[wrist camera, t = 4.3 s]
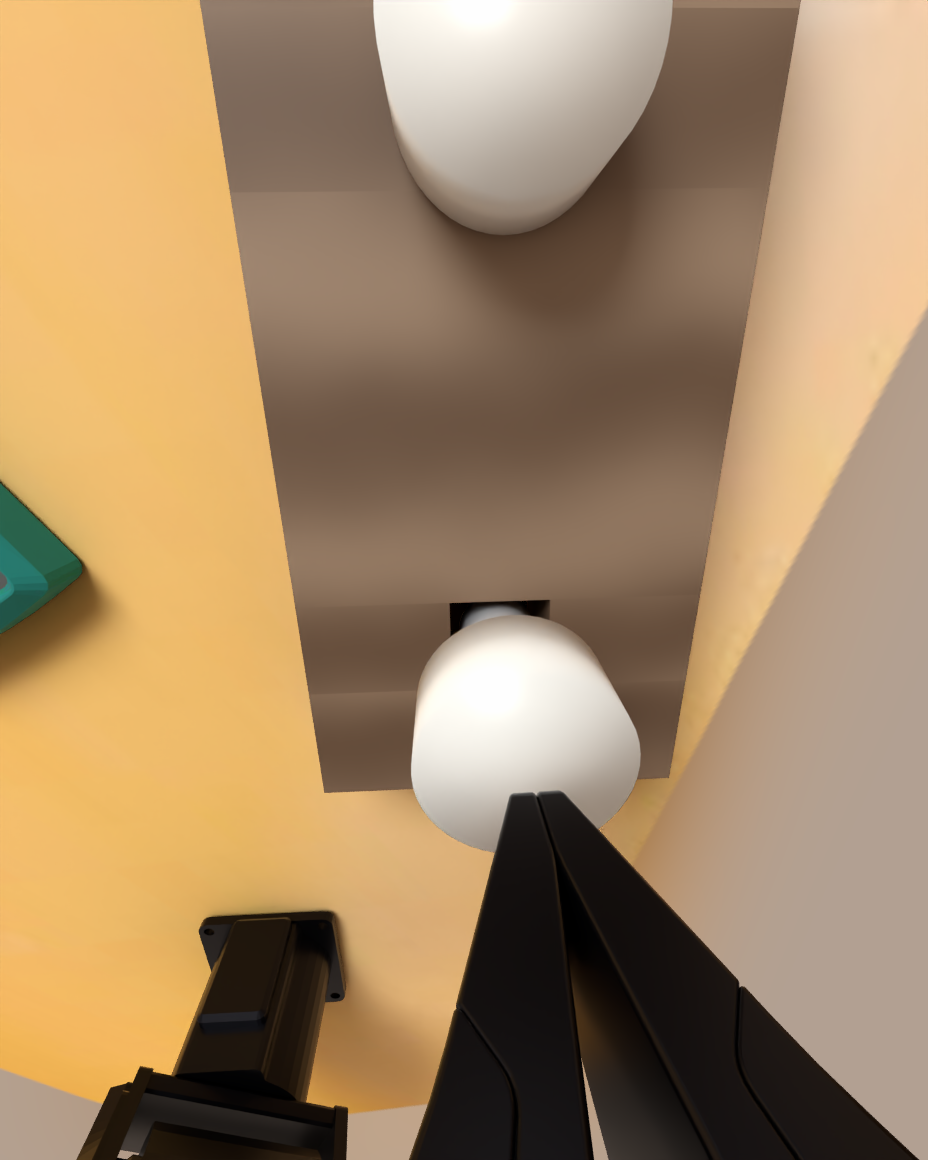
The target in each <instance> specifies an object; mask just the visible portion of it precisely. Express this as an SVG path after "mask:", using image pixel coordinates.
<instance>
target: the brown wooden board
mask: <svg viewBox="0 0 928 1160" xmlns="http://www.w3.org/2000/svg"><path fill="white" fill-rule="evenodd" d="M800 2H801V0H673V4H672V19H671V25H670V32H669V39H668V44H667V48H666V52H665V56H664V60H663V64H662V68H661V71H660V74H659V76H658V79H657V82H656V85H655V88H654V90H653V92H652V95H651V97H650V99H649V101H648V103H647V105H646V107H645V109H644V111H643V113H642V115H641V116H640V118H639V120H638V121H637V123H636V125H635V126H634V128H633V130H632V131H631V132H630V134H629V135H628V136H627V138H626V139H625V140H624V142H623V143H622V144H621V146H620V147H619V148H618V150H617V151H616V152H615V154H614V155H613V156H612V157H611V159H610V160H609V161H608V163H607V164H606V165H605V167H604V168H603V169H602V171H601V172H600V173H599V175H598V176H597V177H596V179H595V180H594V181H593V183H592V184H591V185H590V186H589V188H588V189H587V190H586V192H585V193H584V194H583V196H582V197H581V198H580V199H579V200H578V201H577V202H576V203H575V204H574V205H573V206H572V207H571V208H570V209H569V210H567V211H566V212H565V213H563V214H562V215H561V216H560V217H558V218H557V219H555V220H553V221H552V222H550V223H548V224H546V225H544V226H542V227H540V228H537V229H535V230H532V231H528V232H524V233H520V234H512V235H495V234H488V233H483V232H479V231H475V230H473V229H470V228H468V227H465V226H463V225H461V224H459V223H458V222H456V221H454V220H452V219H451V218H449V217H448V216H447V215H445V214H444V213H443V212H442V211H440V210H439V209H438V208H437V207H436V206H435V205H434V204H433V203H432V202H431V201H430V200H429V199H428V198H427V197H426V195H425V194H424V193H423V192H422V190H421V189H420V188H419V186H418V185H417V183H416V182H415V180H414V178H413V177H412V175H411V173H410V172H409V170H408V168H407V166H406V163H405V161H404V159H403V157H402V154H401V152H400V149H399V146H398V143H397V140H396V136H395V132H394V127H393V123H392V118H391V113H390V108H389V103H388V98H387V93H386V87H385V82H384V77H383V72H382V67H381V62H380V57H379V52H378V47H377V41H376V32H375V24H374V5H373V0H200V4H201V11H202V17H203V24H204V30H205V36H206V43H207V49H208V55H209V62H210V68H211V74H212V81H213V87H214V93H215V100H216V106H217V113H218V119H219V125H220V132H221V138H222V144H223V151H224V157H225V163H226V170H227V176H228V182H229V189H230V195H231V202H232V208H233V214H234V221H235V227H236V233H237V240H238V246H239V252H240V259H241V265H242V271H243V278H244V284H245V291H246V297H247V303H248V310H249V316H250V322H251V329H252V335H253V341H254V348H255V354H256V360H257V367H258V373H259V380H260V386H261V392H262V399H263V405H264V411H265V418H266V424H267V430H268V437H269V443H270V449H271V456H272V462H273V469H274V475H275V481H276V488H277V494H278V500H279V507H280V513H281V519H282V526H283V532H284V538H285V545H286V551H287V557H288V564H289V570H290V577H291V583H292V589H293V596H294V602H295V608H296V615H297V621H298V627H299V634H300V640H301V646H302V653H303V659H304V666H305V672H306V678H307V685H308V691H309V697H310V704H311V710H312V716H313V723H314V729H315V735H316V742H317V748H318V755H319V761H320V767H321V774H322V780H323V786H324V793H332V792H355V791H377V790H400V789H413V784H412V778H411V761H412V749H413V737H414V725H415V713H416V701H417V691H418V685H419V681H420V678H421V675H422V672H423V670H424V668H425V666H426V664H427V662H428V661H429V659H430V658H431V656H432V655H433V653H434V652H435V651H436V650H437V649H438V648H439V647H440V646H441V645H442V643H444V642H445V641H446V640H447V639H448V638H450V637H451V636H452V635H454V634H455V633H457V632H458V631H460V630H458V631H450V603H463V602H494V601H524V600H528V606H527V609H528V611H529V613H530V616H534V617H540V618H544V619H547V620H551V621H553V622H556V623H558V624H560V625H563V626H564V627H566V628H568V629H569V630H571V631H573V632H574V633H575V634H577V635H578V636H579V637H580V638H582V639H583V640H584V642H585V643H586V644H587V645H588V646H589V647H590V648H591V650H592V651H593V653H594V654H595V656H596V657H597V659H598V661H599V663H600V665H601V666H602V668H603V670H604V672H605V674H606V675H607V677H608V679H609V681H610V683H611V684H612V686H613V688H614V690H615V692H616V693H617V695H618V697H619V699H620V701H621V702H622V704H623V706H624V708H625V710H626V712H627V713H628V715H629V717H630V719H631V721H632V723H633V725H634V727H635V729H636V732H637V735H638V739H639V743H640V753H641V756H640V768H639V772H638V777H637V779H652V778H669V774H670V768H671V763H672V757H673V751H674V745H675V739H676V733H677V727H678V721H679V715H680V710H681V704H682V698H683V692H684V686H685V680H686V674H687V668H688V662H689V656H690V651H691V645H692V639H693V633H694V627H695V621H696V615H697V609H698V603H699V598H700V592H701V586H702V580H703V574H704V568H705V562H706V556H707V550H708V544H709V539H710V533H711V527H712V521H713V515H714V509H715V503H716V497H717V491H718V486H719V480H720V474H721V468H722V462H723V456H724V450H725V444H726V438H727V433H728V427H729V421H730V415H731V409H732V403H733V397H734V391H735V385H736V379H737V374H738V368H739V362H740V356H741V350H742V344H743V338H744V332H745V326H746V321H747V315H748V309H749V303H750V297H751V291H752V285H753V279H754V273H755V267H756V262H757V256H758V250H759V244H760V238H761V232H762V226H763V220H764V214H765V209H766V203H767V197H768V191H769V185H770V179H771V173H772V167H773V161H774V155H775V150H776V144H777V138H778V132H779V126H780V120H781V114H782V108H783V102H784V97H785V91H786V85H787V79H788V73H789V67H790V61H791V55H792V49H793V43H794V38H795V32H796V26H797V20H798V14H799V8H800Z"/></svg>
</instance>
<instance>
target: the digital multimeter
mask: <svg viewBox="0 0 928 1160" xmlns="http://www.w3.org/2000/svg"><path fill="white" fill-rule="evenodd" d="M81 573H82V565H81V563H80V562H79V560H78V559H77V558H76V557H75V556H74V555H73V554H72V553H71V552H70V551H69V550H68V549H67V548H66V547H65V546H64V545H63V544H62V543H61V542H60V541H59V540H58V539H57V538H56V537H55V536H54V535H53V534H52V533H51V532H50V531H49V530H48V529H47V528H46V527H45V526H44V525H43V524H42V523H41V522H40V521H39V520H38V519H37V518H36V517H35V516H34V515H33V514H32V513H31V512H30V511H29V510H28V509H27V508H26V507H25V506H24V505H23V504H22V503H21V502H20V501H19V500H18V499H17V498H15V497H14V496H13V495H12V494H11V493H10V492H9V491H8V490H7V489H6V488H5V487H4V486H3V485H2V484H1V483H0V634H1V633H3V632H5V631H7V630H8V629H10V628H11V627H13V626H14V625H16V624H18V623H19V622H21V621H22V620H24V619H25V618H27V617H28V616H30V615H31V614H33V613H34V612H35V611H37V610H38V609H39V608H41V607H42V606H43V605H45V604H46V603H47V602H49V601H50V600H51V599H53V598H54V597H55V596H56V595H58V594H59V593H60V592H61V591H63V590H64V589H65V588H66V587H67V586H69V585H70V584H71V583H72V582H73V581H75V580H76V579H77V578H78V577H79V576H80V575H81Z"/></svg>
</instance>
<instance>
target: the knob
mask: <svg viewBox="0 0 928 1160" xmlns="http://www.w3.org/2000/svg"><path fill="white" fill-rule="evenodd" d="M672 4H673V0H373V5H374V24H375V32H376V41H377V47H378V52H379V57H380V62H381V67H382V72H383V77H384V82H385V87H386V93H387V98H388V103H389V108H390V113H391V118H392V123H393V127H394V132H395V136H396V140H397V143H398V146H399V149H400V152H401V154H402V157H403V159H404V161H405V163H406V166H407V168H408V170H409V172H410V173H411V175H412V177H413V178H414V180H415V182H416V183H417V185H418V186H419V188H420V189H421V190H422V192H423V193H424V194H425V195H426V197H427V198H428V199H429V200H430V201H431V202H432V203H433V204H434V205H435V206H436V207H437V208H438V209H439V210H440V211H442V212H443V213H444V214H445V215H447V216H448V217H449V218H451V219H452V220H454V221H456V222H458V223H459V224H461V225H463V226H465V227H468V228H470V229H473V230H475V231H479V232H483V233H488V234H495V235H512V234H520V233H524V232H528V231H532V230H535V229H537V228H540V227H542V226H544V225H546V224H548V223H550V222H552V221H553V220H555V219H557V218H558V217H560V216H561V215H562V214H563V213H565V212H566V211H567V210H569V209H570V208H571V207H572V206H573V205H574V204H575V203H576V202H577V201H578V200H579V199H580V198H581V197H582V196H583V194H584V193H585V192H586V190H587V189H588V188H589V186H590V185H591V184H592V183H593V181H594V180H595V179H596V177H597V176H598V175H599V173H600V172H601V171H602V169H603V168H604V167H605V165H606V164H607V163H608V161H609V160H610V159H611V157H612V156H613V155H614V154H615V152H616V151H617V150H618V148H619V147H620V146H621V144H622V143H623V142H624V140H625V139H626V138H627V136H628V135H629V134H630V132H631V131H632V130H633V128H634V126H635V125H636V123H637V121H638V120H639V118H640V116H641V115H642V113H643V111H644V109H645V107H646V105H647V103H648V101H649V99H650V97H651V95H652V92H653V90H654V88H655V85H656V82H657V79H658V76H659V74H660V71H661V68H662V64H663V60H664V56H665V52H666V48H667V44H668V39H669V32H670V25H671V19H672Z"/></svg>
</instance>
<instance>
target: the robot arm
mask: <svg viewBox="0 0 928 1160" xmlns="http://www.w3.org/2000/svg"><path fill="white" fill-rule="evenodd" d="M199 935H200V938H201V941H202V944H203V947H204V950H205V953H206V956H207V960H208V963H209V966H210V969H211V975H210V977H209V980H208V983H207V985H206V988H205V990H204V993H203V995H202V998H201V1000H200V1003H199V1006H198V1008H197V1011H196V1013H195V1016H194V1018H193V1021H192V1023H191V1026H190V1029H189V1031H188V1034H187V1036H186V1039H185V1041H184V1044H183V1047H182V1049H181V1052H180V1054H179V1057H178V1059H177V1062H176V1064H175V1067H174V1070H173V1072H172V1075H166V1074H161V1073H156V1072H153V1068H148V1067H143V1066H140V1068H139V1070H138V1072H137V1074H136V1077H135V1079H134V1081H133V1083H131V1082H127V1084H123V1085H119V1086H115V1087H111V1088H110V1090H109V1092H108V1094H107V1096H106V1099H105V1101H104V1103H103V1105H102V1107H101V1109H100V1111H99V1114H98V1116H97V1118H96V1120H95V1122H94V1124H93V1126H92V1129H91V1131H90V1133H89V1135H88V1137H87V1139H86V1141H85V1143H84V1145H83V1147H82V1149H81V1151H80V1154H79V1156H78V1158H77V1160H346V1151H347V1122H348V1108H347V1107H342V1106H337V1105H335V1106H334V1108H331V1107H326V1106H321V1105H316V1104H311V1103H306V1100H307V1095H308V1089H309V1084H310V1079H311V1074H312V1068H313V1063H314V1058H315V1053H316V1047H317V1042H318V1037H319V1031H320V1026H321V1021H322V1016H323V1010H324V1005H325V1002H337V1001H341V1000H343V999H344V997H345V990H346V984H345V978H344V972H343V966H342V960H341V954H340V948H339V942H338V936H337V930H336V924H335V918H334V916H333V915H332V914H331V913H329V912H325V911H321V912H301V913H281V914H261V915H241V916H222V917H208V918H206V919H204V920H203V922H202V924H201V926H200V929H199ZM456 1008H457V1009H456V1010H455V1011H454V1013H453V1017H452V1021H451V1025H450V1029H449V1033H448V1037H447V1041H446V1044H445V1048H444V1051H443V1055H442V1058H441V1062H440V1065H439V1069H438V1072H437V1076H436V1079H435V1083H434V1086H433V1090H432V1093H431V1097H430V1100H429V1103H428V1106H427V1109H426V1112H425V1114H424V1117H423V1120H422V1123H421V1126H420V1129H419V1132H418V1135H417V1138H416V1141H415V1144H414V1147H413V1149H412V1153H411V1155H410V1158H409V1160H594V1156H593V1148H592V1140H591V1132H590V1124H589V1116H588V1108H587V1101H586V1092H585V1084H584V1077H583V1068H582V1062H583V1065H584V1069H585V1073H586V1077H587V1080H588V1084H589V1088H590V1091H591V1095H592V1099H593V1103H594V1107H595V1110H596V1114H597V1118H598V1121H599V1125H600V1129H601V1133H602V1136H603V1140H604V1144H605V1148H606V1151H607V1155H608V1159H609V1160H919V1159H918V1158H917V1157H915V1156H914V1155H913V1154H912V1153H911V1152H910V1151H909V1150H908V1149H907V1148H906V1147H905V1146H904V1145H903V1144H902V1143H900V1142H899V1141H898V1140H897V1139H896V1138H895V1137H894V1136H893V1135H892V1134H891V1133H890V1132H889V1131H888V1130H887V1129H885V1128H884V1127H883V1126H882V1125H881V1124H880V1123H879V1122H878V1121H877V1120H876V1119H875V1118H874V1117H873V1116H872V1115H871V1114H869V1112H867V1111H866V1110H865V1109H864V1108H863V1107H862V1106H861V1105H860V1104H859V1103H858V1102H857V1101H856V1100H855V1099H854V1098H853V1097H852V1096H851V1095H850V1094H849V1093H848V1092H847V1091H846V1090H845V1089H844V1088H843V1087H842V1086H840V1085H839V1084H838V1083H837V1082H836V1081H835V1080H834V1079H833V1078H832V1077H831V1076H830V1075H829V1074H828V1073H827V1072H826V1071H825V1070H824V1069H823V1068H822V1067H821V1066H820V1065H819V1064H818V1063H817V1062H816V1061H815V1060H814V1059H813V1058H812V1057H811V1056H810V1055H809V1054H808V1053H807V1052H806V1051H805V1050H804V1049H803V1048H802V1047H801V1046H800V1045H799V1044H798V1043H797V1042H796V1040H794V1039H793V1037H792V1036H791V1035H789V1033H788V1032H787V1031H786V1030H785V1029H784V1028H783V1027H782V1026H781V1025H780V1024H779V1023H778V1022H777V1021H776V1020H775V1019H774V1018H773V1017H772V1016H771V1015H770V1014H769V1013H768V1011H767V1010H766V1009H765V1008H764V1007H763V1006H762V1005H761V1004H760V1003H759V1002H758V1001H757V1000H756V999H755V997H754V996H753V995H752V994H751V993H750V992H749V991H748V990H747V989H746V988H745V987H743V986H741V987H740V988H739V981H738V979H737V978H736V977H735V976H734V975H733V974H732V973H731V972H730V971H729V970H728V969H727V967H726V966H725V965H724V964H723V963H722V962H721V961H720V960H719V959H718V958H717V957H716V956H715V955H714V954H713V953H712V951H711V950H710V949H709V948H708V947H707V946H706V945H705V944H704V943H703V942H702V941H701V940H700V938H698V936H696V934H695V933H694V932H693V931H692V930H691V929H690V928H689V927H688V926H687V925H686V923H685V922H684V921H683V920H682V919H681V918H680V917H679V916H678V915H677V914H676V913H675V912H674V910H673V909H672V908H671V907H670V906H669V905H668V904H667V903H666V902H665V901H664V900H663V899H662V898H661V897H660V896H659V895H658V894H657V892H656V891H655V890H654V889H653V888H652V887H651V886H650V885H649V884H648V883H647V881H646V880H644V878H643V877H642V876H641V875H640V874H639V873H638V872H637V871H636V870H635V869H634V867H633V866H632V865H631V864H630V863H629V862H628V861H627V860H626V859H625V858H624V857H623V856H622V855H621V853H620V852H619V851H618V850H617V849H616V848H615V847H614V846H613V845H612V844H611V843H610V842H609V841H608V839H607V838H606V837H605V836H604V835H603V834H602V833H601V832H600V831H599V830H598V829H597V828H596V827H595V825H594V824H593V823H592V822H591V821H590V820H589V819H588V818H587V817H586V816H585V815H584V814H583V813H582V811H581V810H580V809H579V808H578V807H577V806H576V805H575V804H574V803H573V802H572V801H571V800H570V799H569V797H568V796H567V795H566V794H565V793H564V792H562V791H560V790H555V791H540V792H538V793H537V795H535V793H533V792H523V793H512V794H511V795H510V796H509V800H508V803H507V807H506V811H505V815H504V819H503V823H502V827H501V831H500V835H499V839H498V843H497V847H496V850H495V854H494V858H493V862H492V866H491V870H490V874H489V878H488V882H487V886H486V890H485V894H484V897H483V901H482V905H481V909H480V913H479V917H478V921H477V925H476V929H475V933H474V937H473V940H472V944H471V948H470V952H469V956H468V960H467V964H466V968H465V972H464V976H463V980H462V983H461V987H460V991H459V995H458V999H457V1003H456ZM581 1058H582V1060H581ZM120 1150H124V1151H130V1152H136V1153H139V1155H132V1156H131V1157H129V1158H128V1159H122V1158H117V1156H118V1154H119V1152H120Z"/></svg>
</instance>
